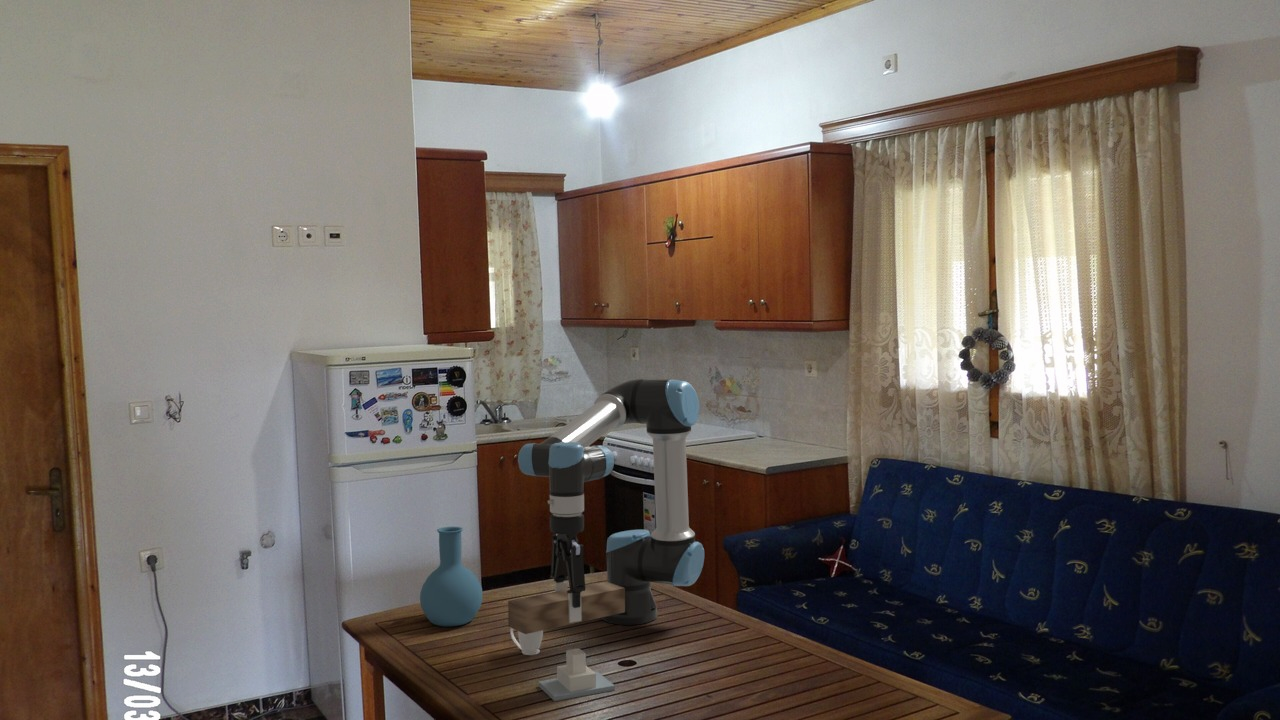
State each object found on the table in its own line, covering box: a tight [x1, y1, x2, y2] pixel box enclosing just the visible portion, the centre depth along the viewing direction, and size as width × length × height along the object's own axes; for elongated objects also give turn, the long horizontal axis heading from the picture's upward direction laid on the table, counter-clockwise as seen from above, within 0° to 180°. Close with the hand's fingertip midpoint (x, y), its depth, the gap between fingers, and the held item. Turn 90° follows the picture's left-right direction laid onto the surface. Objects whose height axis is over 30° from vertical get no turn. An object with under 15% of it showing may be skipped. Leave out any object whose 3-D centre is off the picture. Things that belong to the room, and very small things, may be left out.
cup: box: [509, 627, 544, 656], centre depth 247 cm, size 7×10×8 cm
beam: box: [507, 581, 625, 634], centre depth 223 cm, size 26×7×6 cm, turn 127°
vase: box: [419, 526, 483, 628], centre depth 272 cm, size 16×16×25 cm
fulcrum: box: [538, 647, 616, 702], centre depth 222 cm, size 14×10×8 cm
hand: (568, 616), depth 223 cm, fingers closed on beam, 8 cm apart
